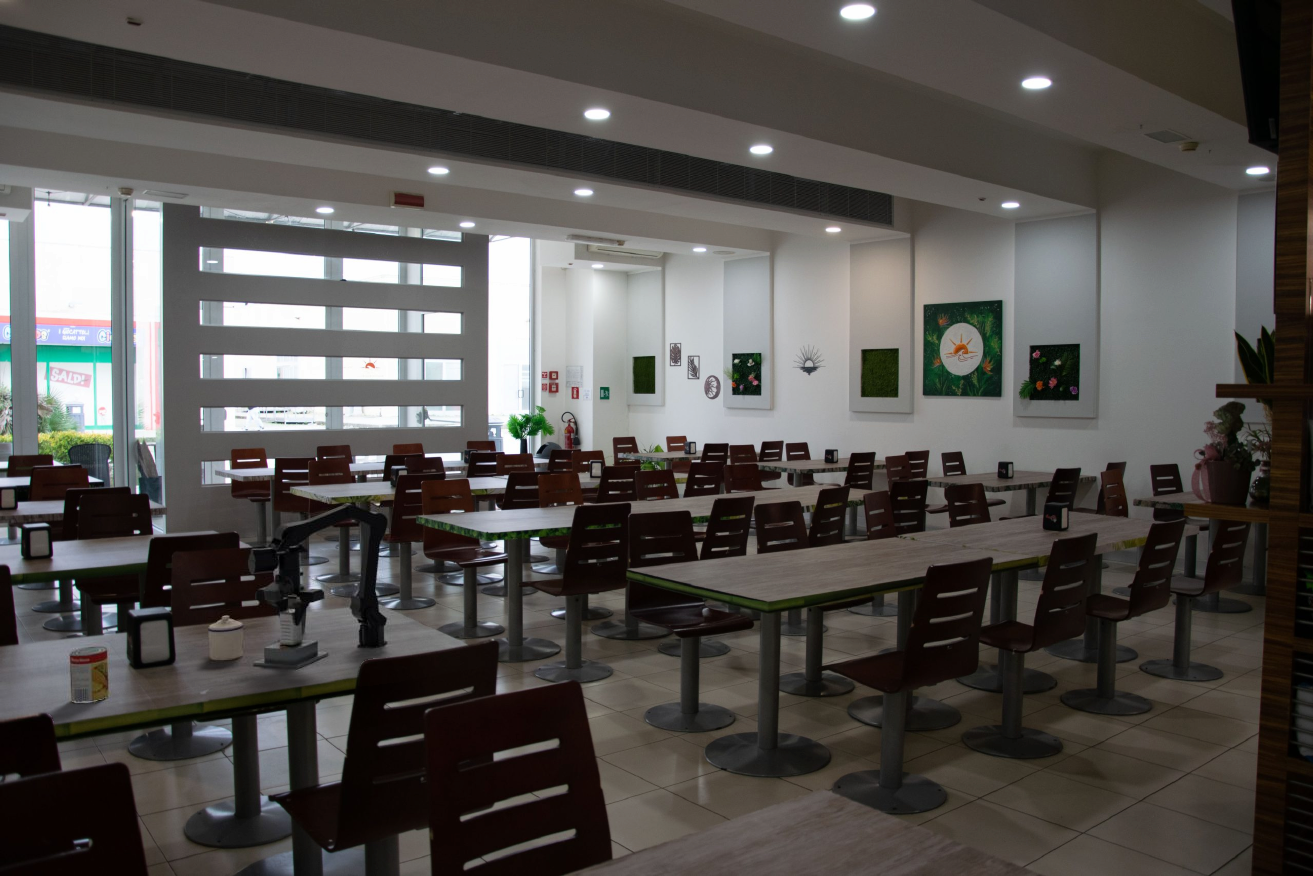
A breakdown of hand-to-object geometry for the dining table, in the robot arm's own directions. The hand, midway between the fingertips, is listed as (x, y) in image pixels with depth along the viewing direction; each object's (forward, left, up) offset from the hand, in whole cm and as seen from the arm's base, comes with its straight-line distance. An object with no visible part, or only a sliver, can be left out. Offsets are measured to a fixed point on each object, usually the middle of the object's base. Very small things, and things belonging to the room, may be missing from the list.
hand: (290, 625), depth 263 cm
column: (0, 0, -6) cm, 6 cm away
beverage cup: (+19, -28, -10) cm, 35 cm away
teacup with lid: (+22, +1, -10) cm, 24 cm away
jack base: (0, 0, -10) cm, 10 cm away
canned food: (+26, +42, -10) cm, 50 cm away
